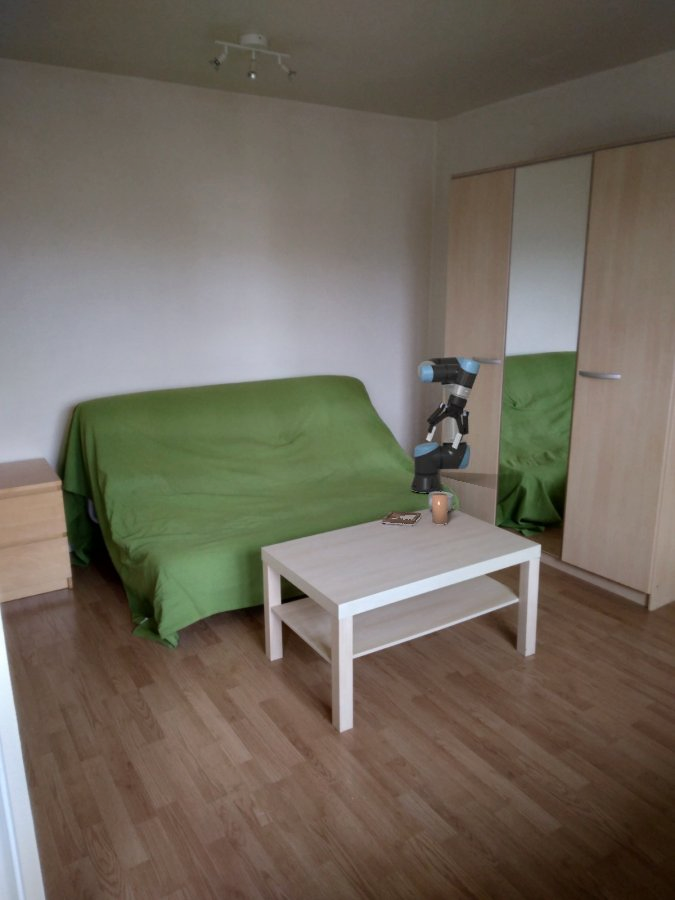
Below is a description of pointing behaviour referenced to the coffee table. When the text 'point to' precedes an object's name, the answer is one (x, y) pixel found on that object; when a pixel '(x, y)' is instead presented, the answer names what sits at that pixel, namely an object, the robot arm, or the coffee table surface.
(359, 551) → the coffee table surface
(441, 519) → the pillar candle
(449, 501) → the teacup
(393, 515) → the tray
